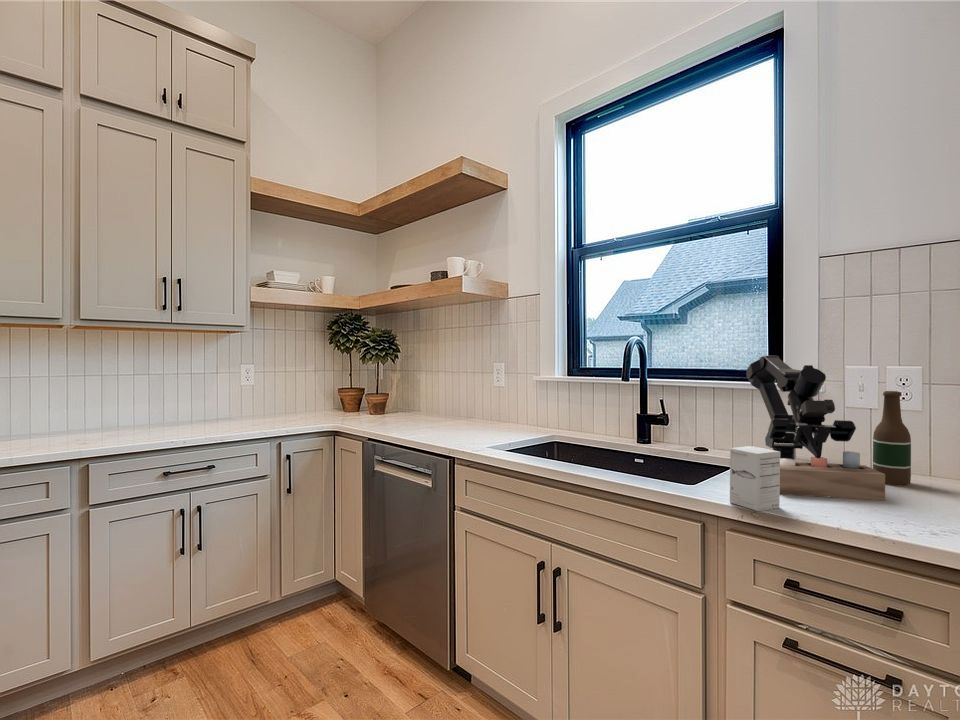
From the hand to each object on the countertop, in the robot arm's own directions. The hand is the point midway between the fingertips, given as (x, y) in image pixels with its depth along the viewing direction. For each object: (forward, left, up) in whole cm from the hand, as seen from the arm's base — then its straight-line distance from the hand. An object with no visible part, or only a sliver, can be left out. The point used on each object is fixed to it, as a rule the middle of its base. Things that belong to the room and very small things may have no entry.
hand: (818, 456), depth 128 cm
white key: (0, -7, -5) cm, 9 cm away
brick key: (0, 0, -4) cm, 4 cm away
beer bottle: (-13, +21, -8) cm, 26 cm away
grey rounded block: (0, +7, -3) cm, 8 cm away
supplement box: (+19, -19, -8) cm, 28 cm away
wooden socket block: (+2, 0, -8) cm, 8 cm away
